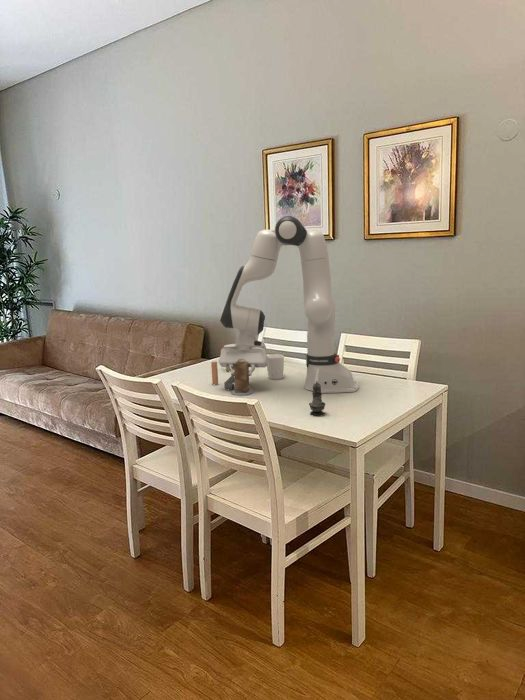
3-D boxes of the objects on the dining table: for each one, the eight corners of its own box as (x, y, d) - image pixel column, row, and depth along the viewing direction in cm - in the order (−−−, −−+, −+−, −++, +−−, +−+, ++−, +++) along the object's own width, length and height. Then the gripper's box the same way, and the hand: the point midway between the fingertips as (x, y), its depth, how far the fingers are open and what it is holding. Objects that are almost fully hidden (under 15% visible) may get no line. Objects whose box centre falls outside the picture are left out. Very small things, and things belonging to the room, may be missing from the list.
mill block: (249, 389, 216) (248, 358, 213) (246, 393, 212) (245, 361, 209) (238, 389, 217) (237, 358, 214) (235, 392, 213) (234, 360, 210)
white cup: (282, 380, 232) (282, 358, 230) (265, 379, 233) (264, 358, 231) (285, 375, 239) (285, 354, 237) (268, 375, 241) (268, 354, 239)
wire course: (249, 381, 232) (248, 359, 230) (241, 390, 217) (240, 367, 215) (217, 380, 235) (215, 359, 233) (206, 390, 220) (205, 367, 218)
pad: (255, 389, 218) (255, 388, 218) (250, 396, 209) (250, 394, 209) (234, 389, 220) (234, 387, 220) (228, 395, 211) (228, 394, 211)
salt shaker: (306, 414, 184) (305, 382, 182) (313, 410, 189) (313, 378, 187) (320, 417, 181) (320, 384, 179) (328, 412, 186) (328, 379, 183)
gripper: (220, 342, 220) (214, 370, 212) (267, 342, 215) (263, 371, 208) (223, 350, 225) (218, 378, 217) (270, 350, 220) (266, 379, 213)
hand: (240, 375), depth 213 cm, fingers open, 5 cm apart
